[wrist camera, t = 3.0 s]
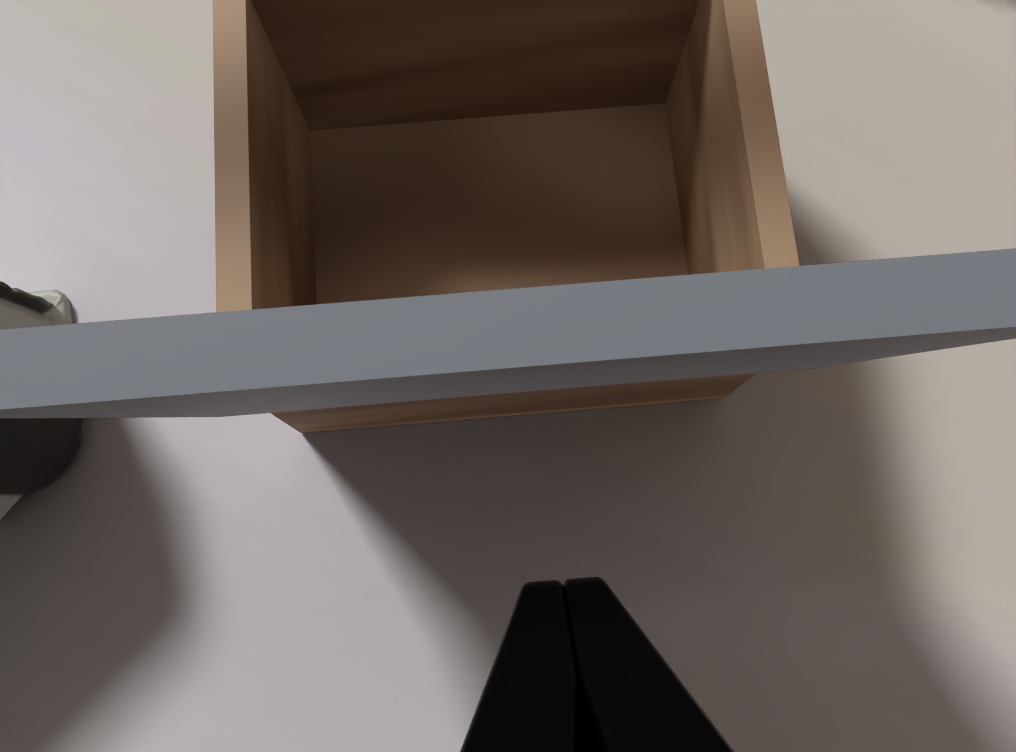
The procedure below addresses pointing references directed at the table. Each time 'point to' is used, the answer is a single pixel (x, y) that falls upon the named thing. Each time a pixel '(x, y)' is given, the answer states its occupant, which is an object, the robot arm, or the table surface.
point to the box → (490, 162)
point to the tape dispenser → (34, 441)
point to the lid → (508, 339)
